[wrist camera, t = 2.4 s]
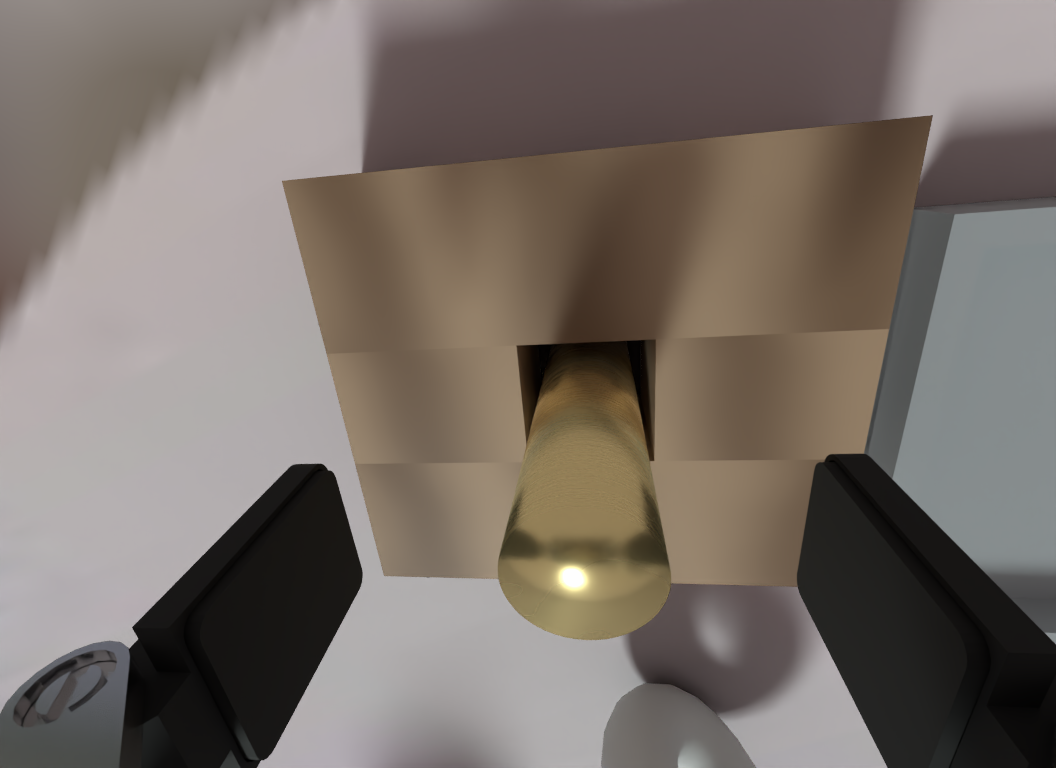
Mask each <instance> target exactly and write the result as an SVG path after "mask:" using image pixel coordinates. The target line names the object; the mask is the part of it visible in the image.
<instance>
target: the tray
mask: <svg viewBox="0 0 1056 768" xmlns="http://www.w3.org/2000/svg"><path fill="white" fill-rule="evenodd" d="M864 454H867V455H868V456H870V457H871V458H872V459H873V460H874V461H875V462H876V463H877V464H878V465H879V466H880V467H881V468H882V469H883V470H884V471H885V472H886V473H887V474H888V475H889V476H890V477H891V478H892V479H893V480H894V481H895V482H896V483H897V484H898V485H899V486H900V487H901V488H902V489H903V490H904V491H905V492H906V493H907V494H908V495H909V496H910V498H911V499H912V500H913V501H914V502H915V503H916V504H917V505H918V506H919V507H920V508H921V509H922V510H923V511H924V512H925V513H926V514H927V515H928V516H929V517H930V518H931V519H932V520H933V521H934V522H935V523H936V524H937V525H938V526H939V527H940V528H941V529H942V530H943V531H944V532H945V533H946V534H947V535H948V536H949V537H950V538H951V539H952V540H953V541H954V542H955V543H956V544H957V545H958V546H959V547H960V548H961V549H962V550H963V551H964V552H965V553H966V554H967V555H968V556H969V557H970V558H971V559H972V560H973V561H974V562H975V563H976V564H977V565H978V566H979V567H980V568H981V569H982V570H983V571H984V572H985V573H986V574H987V575H988V576H989V577H990V578H991V579H992V580H993V581H994V582H995V583H996V584H997V585H998V586H999V587H1000V588H1001V589H1002V590H1003V591H1004V592H1005V593H1006V594H1007V595H1008V596H1009V597H1010V598H1011V599H1012V600H1013V601H1014V602H1015V603H1016V604H1017V605H1018V606H1019V608H1020V609H1021V610H1022V611H1023V612H1024V613H1025V614H1026V615H1027V616H1028V617H1029V618H1030V619H1031V620H1032V621H1033V622H1034V623H1035V624H1036V625H1037V626H1038V627H1039V628H1040V629H1041V630H1042V631H1043V632H1044V633H1045V634H1046V635H1047V636H1048V637H1049V638H1050V639H1051V640H1052V641H1053V642H1054V643H1055V644H1056V197H1046V198H1033V199H1020V200H1007V201H994V202H981V203H968V204H955V205H941V206H928V207H915V208H914V210H913V215H912V219H911V224H910V229H909V234H908V239H907V244H906V249H905V254H904V259H903V264H902V269H901V274H900V278H899V283H898V288H897V293H896V298H895V303H894V308H893V313H892V318H891V323H890V328H889V332H888V337H887V342H886V347H885V352H884V357H883V362H882V367H881V372H880V377H879V382H878V386H877V391H876V396H875V401H874V406H873V411H872V416H871V421H870V426H869V431H868V436H867V440H866V445H865V450H864Z"/></svg>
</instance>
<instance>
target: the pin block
mask: <svg viewBox="0 0 1056 768" xmlns="http://www.w3.org/2000/svg"><path fill="white" fill-rule="evenodd" d="M932 116H933V115H932ZM932 116H922V117H912V118H902V119H892V120H882V121H872V122H862V123H852V124H843V125H833V126H823V127H813V128H803V129H793V130H783V131H773V132H763V133H753V134H743V135H733V136H724V137H714V138H704V139H694V140H684V141H674V142H664V143H654V144H644V145H634V146H624V147H614V148H604V149H595V150H585V151H575V152H565V153H555V154H545V155H535V156H525V157H515V158H505V159H495V160H485V161H476V162H466V163H456V164H446V165H436V166H426V167H416V168H406V169H396V170H386V171H376V172H366V173H356V174H347V175H337V176H327V177H317V178H307V179H297V180H287V181H282V183H283V187H284V191H285V195H286V199H287V203H288V206H289V210H290V214H291V218H292V222H293V226H294V230H295V233H296V237H297V241H298V245H299V249H300V253H301V257H302V260H303V264H304V268H305V272H306V276H307V280H308V284H309V288H310V291H311V295H312V299H313V303H314V307H315V311H316V315H317V318H318V322H319V326H320V330H321V334H322V338H323V342H324V345H325V349H326V353H327V357H328V361H329V365H330V369H331V372H332V376H333V380H334V384H335V388H336V392H337V396H338V400H339V403H340V407H341V411H342V415H343V419H344V423H345V427H346V430H347V434H348V438H349V442H350V446H351V450H352V454H353V457H354V461H355V465H356V469H357V473H358V477H359V481H360V484H361V488H362V492H363V496H364V500H365V504H366V508H367V512H368V515H369V519H370V523H371V527H372V531H373V535H374V539H375V542H376V546H377V550H378V554H379V558H380V562H381V566H382V569H383V573H384V576H405V577H444V578H482V579H499V578H498V559H499V554H500V550H501V546H502V542H503V538H504V534H505V530H506V526H507V522H508V518H509V514H510V510H511V506H512V502H513V498H514V494H515V490H516V486H517V482H518V478H519V474H520V470H521V466H522V462H523V458H524V454H525V450H526V445H527V441H528V437H529V433H530V429H531V425H532V421H533V417H534V413H535V409H536V405H537V401H538V397H539V393H540V389H541V385H542V384H541V372H540V360H539V348H538V345H539V344H562V343H584V342H607V341H630V340H641V384H640V395H637V398H638V403H639V408H640V414H641V419H642V424H643V429H644V434H645V440H646V445H647V450H648V455H649V460H650V466H651V471H652V476H653V481H654V486H655V492H656V497H657V502H658V507H659V512H660V517H661V523H662V528H663V533H664V538H665V543H666V549H667V554H668V559H669V564H670V569H671V583H675V584H714V585H752V586H791V587H798V585H797V571H798V565H799V559H800V553H801V547H802V541H803V534H804V528H805V522H806V516H807V510H808V504H809V498H810V492H811V486H812V480H813V474H814V469H815V466H816V464H817V463H819V462H824V461H825V459H826V457H827V456H828V455H830V454H859V453H863V454H864V450H865V445H866V440H867V436H868V431H869V426H870V421H871V416H872V411H873V406H874V401H875V396H876V391H877V386H878V382H879V377H880V372H881V367H882V362H883V357H884V352H885V347H886V342H887V337H888V332H889V328H890V323H891V318H892V313H893V308H894V303H895V298H896V293H897V288H898V283H899V278H900V274H901V269H902V264H903V259H904V254H905V249H906V244H907V239H908V234H909V229H910V224H911V219H912V215H913V210H914V205H915V200H916V195H917V190H918V185H919V180H920V175H921V170H922V165H923V161H924V156H925V151H926V146H927V141H928V136H929V131H930V126H931V121H932Z"/></svg>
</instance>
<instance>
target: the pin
mask: <svg viewBox="0 0 1056 768" xmlns="http://www.w3.org/2000/svg"><path fill="white" fill-rule="evenodd" d="M498 578H499V582H500V586H501V588H502V591H503V593H504V595H505V596H506V598H507V600H508V601H509V603H510V604H511V605H512V606H513V608H514V609H515V610H516V611H517V612H518V613H519V614H520V615H522V616H523V617H524V618H525V619H526V620H528V621H529V622H531V623H532V624H534V625H536V626H537V627H539V628H541V629H543V630H545V631H548V632H551V633H553V634H556V635H560V636H563V637H567V638H573V639H581V640H601V639H609V638H614V637H618V636H622V635H625V634H628V633H630V632H632V631H635V630H637V629H638V628H640V627H642V626H644V625H645V624H646V623H648V622H649V621H650V620H652V619H653V618H654V617H655V616H656V615H657V614H658V613H659V611H660V610H661V608H662V607H663V606H664V604H665V602H666V600H667V598H668V595H669V592H670V587H671V569H670V564H669V559H668V554H667V549H666V543H665V538H664V533H663V528H662V523H661V517H660V512H659V507H658V502H657V497H656V492H655V486H654V481H653V476H652V471H651V466H650V460H649V455H648V450H647V445H646V440H645V434H644V429H643V424H642V419H641V414H640V408H639V403H638V398H637V393H636V388H635V383H634V377H633V372H632V367H631V362H630V357H629V351H628V346H627V341H607V342H584V343H562V344H552V345H551V349H550V353H549V357H548V361H547V365H546V369H545V373H544V377H543V381H542V385H541V389H540V393H539V397H538V401H537V405H536V409H535V413H534V417H533V421H532V425H531V429H530V433H529V437H528V441H527V445H526V450H525V454H524V458H523V462H522V466H521V470H520V474H519V478H518V482H517V486H516V490H515V494H514V498H513V502H512V506H511V510H510V514H509V518H508V522H507V526H506V530H505V534H504V538H503V542H502V546H501V550H500V554H499V559H498Z"/></svg>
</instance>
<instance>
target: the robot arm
mask: <svg viewBox="0 0 1056 768" xmlns="http://www.w3.org/2000/svg"><path fill="white" fill-rule="evenodd" d="M361 583H362V568H361V564H360V561H359V557H358V554H357V550H356V547H355V543H354V540H353V536H352V533H351V529H350V526H349V522H348V519H347V515H346V512H345V508H344V505H343V501H342V498H341V494H340V491H339V487H338V484H337V480H336V477H335V475H334V473H333V472H332V471H328V470H327V468H326V467H325V466H324V465H323V464H295V465H292V466H291V467H290V468H288V470H287V471H286V472H285V473H284V474H283V475H282V476H281V477H280V478H279V479H278V480H277V481H276V482H275V483H274V484H273V485H272V486H271V487H270V488H269V489H268V490H267V491H266V492H265V493H264V494H263V495H262V496H261V497H260V498H259V499H258V500H257V501H256V502H255V503H254V504H253V505H252V506H251V507H250V508H249V509H248V510H247V511H246V512H245V513H244V514H243V515H242V516H241V517H240V518H239V519H238V520H237V521H236V522H235V523H234V524H233V525H232V526H231V527H230V528H229V529H228V530H227V532H226V533H225V534H224V535H223V536H222V537H221V538H220V539H219V540H218V541H217V542H216V543H215V544H214V545H213V546H212V547H211V548H210V549H209V550H208V551H207V552H206V553H205V554H204V555H203V556H202V557H201V558H200V559H199V560H198V561H197V562H196V563H195V564H194V565H193V566H192V567H191V568H190V569H189V570H188V571H187V572H186V573H185V574H184V575H183V576H182V577H181V578H180V579H179V580H178V581H177V582H176V583H175V584H174V585H173V586H172V587H171V588H170V589H169V590H168V591H167V593H166V594H165V595H164V596H163V597H162V598H161V599H160V600H159V601H158V602H157V603H156V604H155V605H154V606H153V607H152V608H151V609H150V610H149V611H148V612H147V613H146V614H145V615H144V616H143V617H142V618H141V619H140V620H139V621H138V622H137V623H136V624H135V625H134V626H133V627H132V628H133V630H134V632H135V633H136V635H137V637H138V640H137V641H136V642H135V643H134V644H133V645H132V646H131V648H130V649H129V648H128V647H127V646H125V645H124V644H123V643H121V642H115V641H105V642H99V643H93V644H90V645H87V646H85V647H82V648H79V649H76V650H74V651H72V652H70V653H68V654H66V655H64V656H62V657H60V658H58V659H56V660H55V661H53V662H52V663H50V664H49V665H47V666H46V667H44V668H43V669H41V670H40V671H38V672H37V673H36V674H34V675H33V676H32V677H31V678H30V679H29V680H27V681H26V682H25V683H24V684H23V685H22V686H20V687H19V689H18V690H17V691H16V692H15V693H14V694H13V695H12V697H11V698H10V699H9V700H8V701H7V702H6V704H5V706H4V708H3V709H2V711H1V713H0V768H257V766H258V765H259V763H260V761H261V760H265V759H266V758H268V757H269V755H270V754H271V753H272V752H273V750H274V748H275V747H276V745H277V743H278V741H279V739H280V737H281V735H282V733H283V732H284V730H285V728H286V726H287V724H288V722H289V720H290V718H291V717H292V715H293V713H294V711H295V709H296V707H297V705H298V703H299V702H300V700H301V698H302V696H303V694H304V692H305V690H306V688H307V687H308V685H309V683H310V681H311V679H312V677H313V675H314V673H315V672H316V670H317V668H318V666H319V664H320V662H321V660H322V658H323V657H324V655H325V653H326V651H327V649H328V647H329V645H330V643H331V642H332V640H333V638H334V636H335V634H336V632H337V630H338V628H339V627H340V625H341V623H342V621H343V619H344V617H345V615H346V613H347V612H348V610H349V608H350V606H351V604H352V602H353V600H354V598H355V597H356V595H357V593H358V591H359V589H360V587H361ZM797 585H798V589H799V593H800V595H801V597H802V599H803V601H804V603H805V605H806V607H807V609H808V611H809V613H810V615H811V617H812V619H813V621H814V623H815V625H816V627H817V629H818V631H819V633H820V635H821V637H822V639H823V641H824V643H825V645H826V647H827V649H828V651H829V653H830V655H831V657H832V659H833V661H834V663H835V665H836V667H837V669H838V670H839V672H840V674H841V676H842V678H843V680H844V682H845V684H846V686H847V688H848V690H849V692H850V694H851V696H852V698H853V700H854V702H855V704H856V706H857V708H858V710H859V712H860V714H861V716H862V718H863V720H864V722H865V724H866V726H867V728H868V730H869V732H870V734H871V736H872V738H873V740H874V742H875V744H876V746H877V748H878V749H879V751H880V753H881V755H882V757H883V759H884V761H885V763H886V765H887V767H888V768H1056V644H1055V643H1054V642H1053V641H1052V640H1051V639H1050V638H1049V637H1048V636H1047V635H1046V634H1045V633H1044V632H1043V631H1042V630H1041V629H1040V628H1039V627H1038V626H1037V625H1036V624H1035V623H1034V622H1033V621H1032V620H1031V619H1030V618H1029V617H1028V616H1027V615H1026V614H1025V613H1024V612H1023V611H1022V610H1021V609H1020V608H1019V606H1018V605H1017V604H1016V603H1015V602H1014V601H1013V600H1012V599H1011V598H1010V597H1009V596H1008V595H1007V594H1006V593H1005V592H1004V591H1003V590H1002V589H1001V588H1000V587H999V586H998V585H997V584H996V583H995V582H994V581H993V580H992V579H991V578H990V577H989V576H988V575H987V574H986V573H985V572H984V571H983V570H982V569H981V568H980V567H979V566H978V565H977V564H976V563H975V562H974V561H973V560H972V559H971V558H970V557H969V556H968V555H967V554H966V553H965V552H964V551H963V550H962V549H961V548H960V547H959V546H958V545H957V544H956V543H955V542H954V541H953V540H952V539H951V538H950V537H949V536H948V535H947V534H946V533H945V532H944V531H943V530H942V529H941V528H940V527H939V526H938V525H937V524H936V523H935V522H934V521H933V520H932V519H931V518H930V517H929V516H928V515H927V514H926V513H925V512H924V511H923V510H922V509H921V508H920V507H919V506H918V505H917V504H916V503H915V502H914V501H913V500H912V499H911V498H910V496H909V495H908V494H907V493H906V492H905V491H904V490H903V489H902V488H901V487H900V486H899V485H898V484H897V483H896V482H895V481H894V480H893V479H892V478H891V477H890V476H889V475H888V474H887V473H886V472H885V471H884V470H883V469H882V468H881V467H880V466H879V465H878V464H877V463H876V462H875V461H874V460H873V459H872V458H871V457H870V456H868V455H867V454H863V453H859V454H830V455H828V456H827V457H826V459H825V461H824V462H819V463H817V464H816V466H815V469H814V474H813V480H812V486H811V492H810V498H809V504H808V510H807V516H806V522H805V528H804V534H803V541H802V547H801V553H800V559H799V565H798V571H797Z"/></svg>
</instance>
